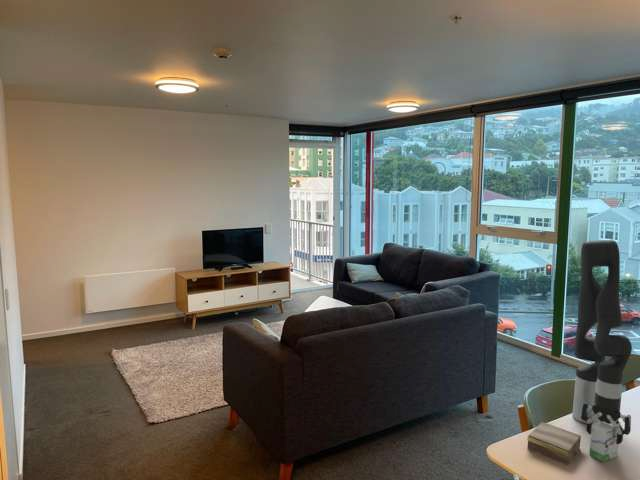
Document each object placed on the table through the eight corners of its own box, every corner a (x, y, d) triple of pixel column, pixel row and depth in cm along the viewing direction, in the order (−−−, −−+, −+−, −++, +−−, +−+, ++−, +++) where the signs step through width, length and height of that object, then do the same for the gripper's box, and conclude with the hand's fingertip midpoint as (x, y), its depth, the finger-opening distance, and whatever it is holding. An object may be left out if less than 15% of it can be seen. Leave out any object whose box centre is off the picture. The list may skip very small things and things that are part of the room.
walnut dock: (541, 434, 174) (542, 421, 173) (579, 448, 164) (580, 435, 164) (526, 449, 164) (527, 435, 163) (566, 465, 155) (567, 451, 154)
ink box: (602, 462, 157) (605, 429, 155) (588, 455, 161) (591, 422, 159) (618, 456, 160) (621, 424, 159) (604, 448, 165) (607, 417, 163)
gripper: (635, 396, 155) (631, 442, 157) (588, 383, 165) (584, 426, 167) (630, 403, 150) (625, 451, 152) (581, 389, 160) (577, 434, 162)
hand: (603, 438), depth 160 cm, fingers open, 8 cm apart
